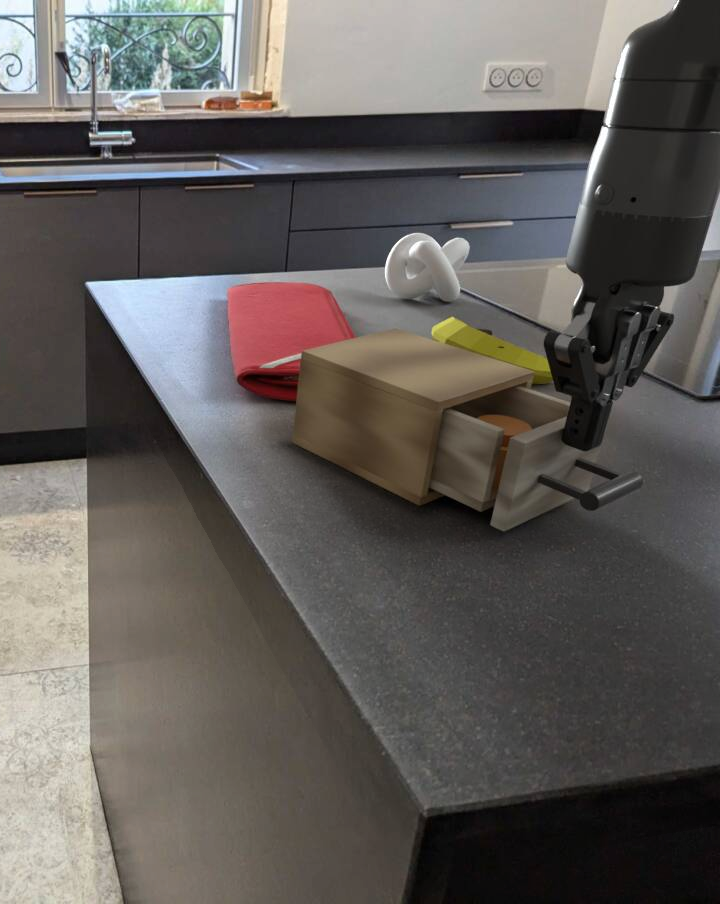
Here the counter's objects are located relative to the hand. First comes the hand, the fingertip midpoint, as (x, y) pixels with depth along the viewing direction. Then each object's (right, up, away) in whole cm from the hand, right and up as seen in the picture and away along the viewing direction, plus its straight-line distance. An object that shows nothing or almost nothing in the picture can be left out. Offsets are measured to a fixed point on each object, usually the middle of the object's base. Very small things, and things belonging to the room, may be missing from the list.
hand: (580, 445), depth 60 cm
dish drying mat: (-12, +13, +44) cm, 48 cm away
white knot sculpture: (+13, +23, +65) cm, 71 cm away
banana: (+12, +10, +38) cm, 42 cm away
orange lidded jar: (-3, -2, +7) cm, 8 cm away
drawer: (-3, -4, +7) cm, 8 cm away
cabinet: (-8, -1, +15) cm, 17 cm away
